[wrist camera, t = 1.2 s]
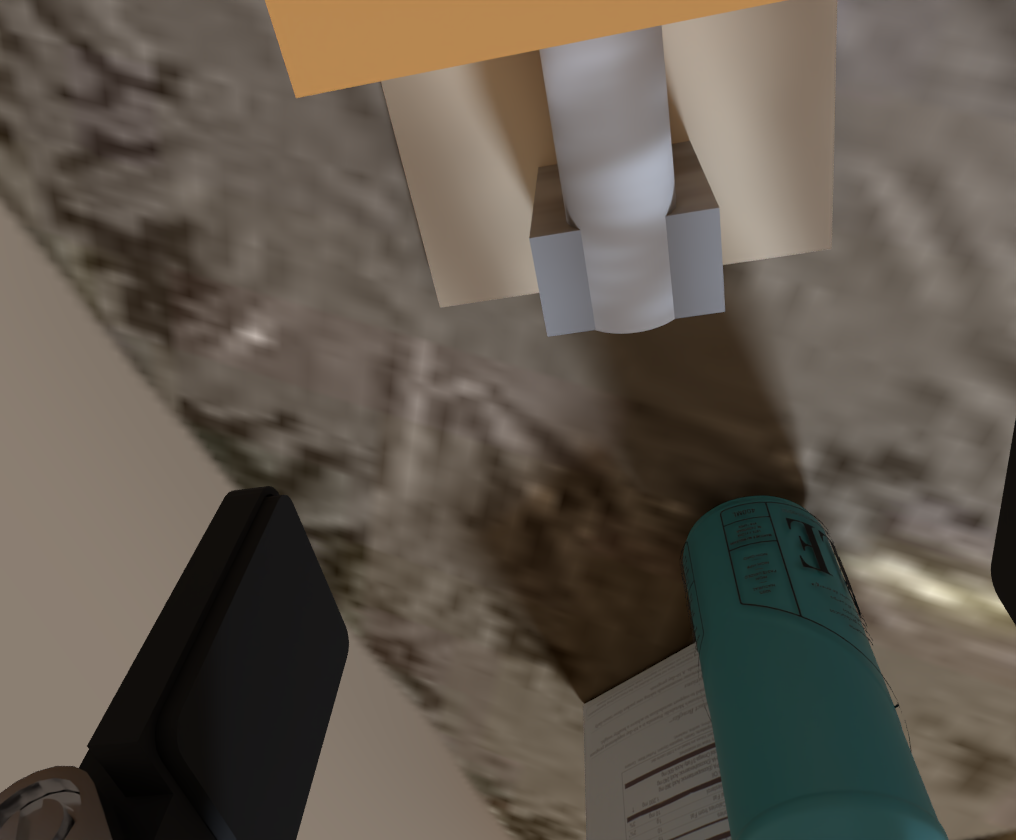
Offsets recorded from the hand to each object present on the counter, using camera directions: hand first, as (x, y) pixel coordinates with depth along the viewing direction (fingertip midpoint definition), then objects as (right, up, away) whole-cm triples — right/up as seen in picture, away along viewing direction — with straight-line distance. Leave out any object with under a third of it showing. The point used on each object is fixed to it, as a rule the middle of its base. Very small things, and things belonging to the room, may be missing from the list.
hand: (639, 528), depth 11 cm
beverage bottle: (+9, -3, +26) cm, 28 cm away
